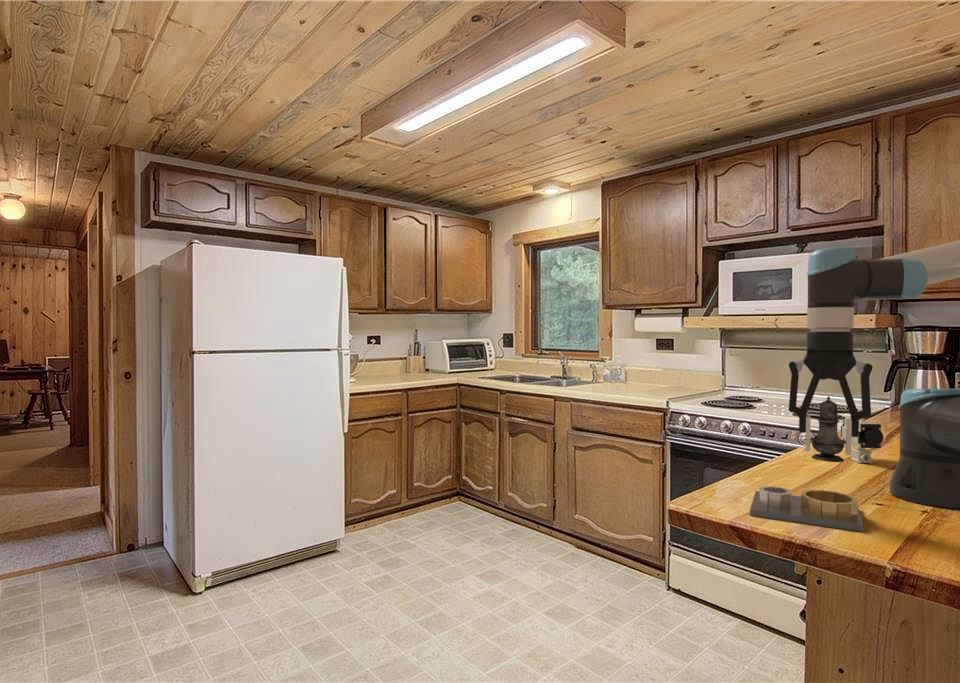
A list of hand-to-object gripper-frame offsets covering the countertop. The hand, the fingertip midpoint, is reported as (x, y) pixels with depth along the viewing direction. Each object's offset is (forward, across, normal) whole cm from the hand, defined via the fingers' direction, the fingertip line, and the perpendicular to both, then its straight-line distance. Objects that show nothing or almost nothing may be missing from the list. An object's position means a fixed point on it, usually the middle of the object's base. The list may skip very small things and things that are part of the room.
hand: (827, 451), depth 107 cm
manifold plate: (+12, +4, 0) cm, 13 cm away
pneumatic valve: (+12, -9, -54) cm, 56 cm away
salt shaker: (+2, 0, 0) cm, 2 cm away
